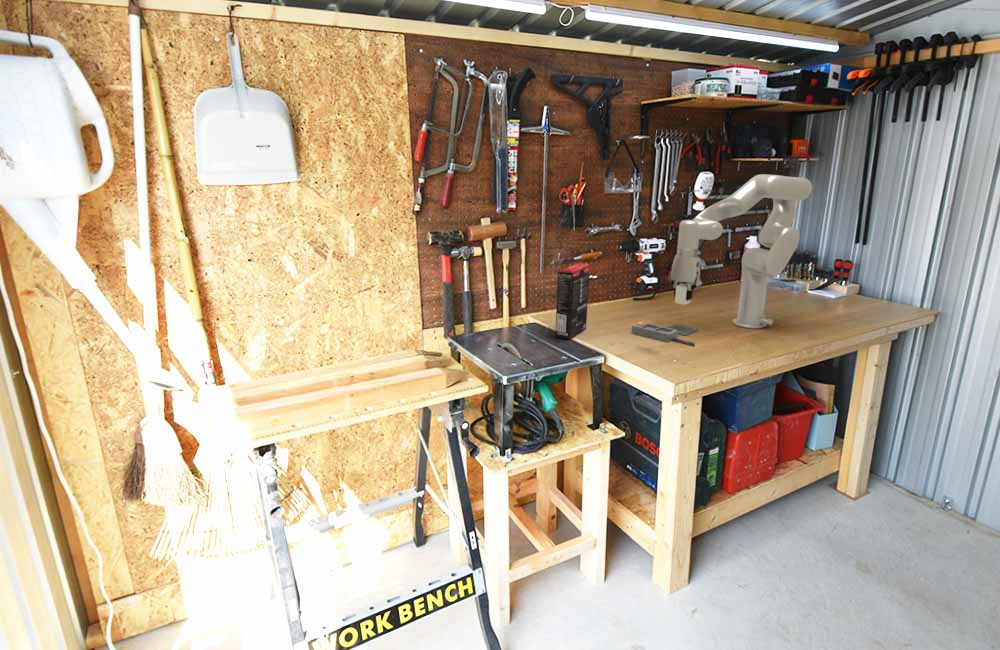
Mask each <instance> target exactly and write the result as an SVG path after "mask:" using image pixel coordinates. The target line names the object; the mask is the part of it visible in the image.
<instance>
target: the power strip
mask: <svg viewBox="0 0 1000 650" xmlns="http://www.w3.org/2000/svg"><path fill="white" fill-rule="evenodd" d="M632 333H634V334H633V335H636V334H638V335H637V336H640V335H641V337H644V336H645V337H644V338H648V337H649V339H652V340H656V341H660V342H664V343H668V344H669V343H670V342H672V341H673V342H677V343H680V344H683V345H688V346H693V347H694V346H696V342H693V341H688V340H686V339H685V340H684V339H680V338H678V336H679V334H678V330H674V329H670V328H668V327H665V326H661V325H656V324H652V323H649V322H644V321H638V322H636V324H633V325H631V334H632Z"/></svg>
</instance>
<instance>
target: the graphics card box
mask: <svg viewBox="0 0 1000 650" xmlns="http://www.w3.org/2000/svg"><path fill="white" fill-rule="evenodd" d="M590 269H591V268H590V263H585V262H577V263H574V264H572V265H569V266H567V267H564V268H562V269H559V270H557V285H556V286H557V288H556V289H557V291H556V293H557V294H556V314H555V338H560V339H565V340H571V339H573V338H575V337H576V336H577V335H578V334H581V332H583V331H585V330H586V329H587V321H588V319H587V318H588V304H589V303H588V302H589V284H590V281H589V280H590Z"/></svg>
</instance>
